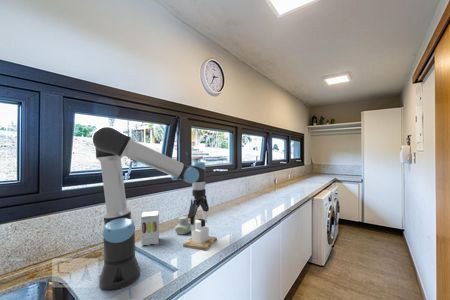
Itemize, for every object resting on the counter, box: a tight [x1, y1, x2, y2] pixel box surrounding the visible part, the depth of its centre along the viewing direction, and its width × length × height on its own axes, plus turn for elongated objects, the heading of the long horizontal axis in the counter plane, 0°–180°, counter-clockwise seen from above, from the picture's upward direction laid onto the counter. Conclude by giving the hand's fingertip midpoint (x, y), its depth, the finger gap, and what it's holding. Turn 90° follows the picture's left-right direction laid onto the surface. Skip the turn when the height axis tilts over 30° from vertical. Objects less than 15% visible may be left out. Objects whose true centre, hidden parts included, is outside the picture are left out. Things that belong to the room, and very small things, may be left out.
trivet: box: [182, 235, 217, 252], centre depth 116 cm, size 14×14×2 cm
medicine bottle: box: [190, 218, 210, 244], centre depth 116 cm, size 7×7×12 cm
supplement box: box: [140, 210, 160, 246], centre depth 119 cm, size 10×9×17 cm
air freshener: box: [174, 215, 191, 236], centre depth 132 cm, size 11×8×10 cm
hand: (199, 226), depth 116 cm, fingers open, 13 cm apart
